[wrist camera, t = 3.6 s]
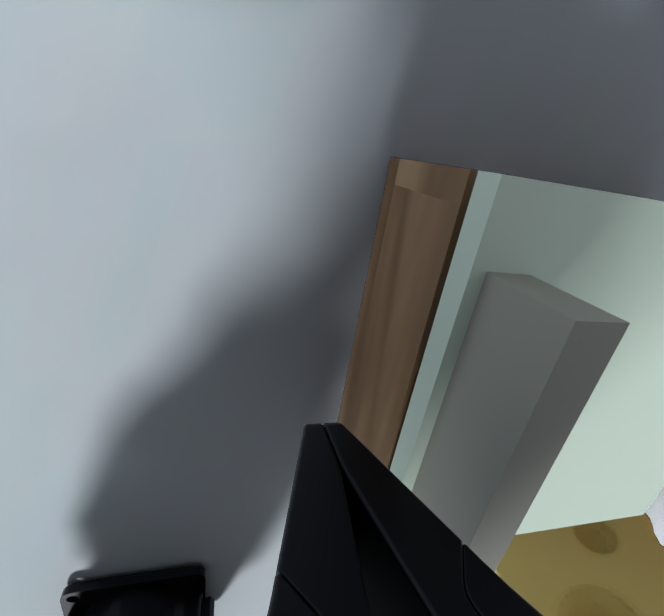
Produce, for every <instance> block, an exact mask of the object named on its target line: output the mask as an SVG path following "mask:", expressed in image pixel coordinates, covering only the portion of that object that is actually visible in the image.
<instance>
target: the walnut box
mask: <svg viewBox="0 0 664 616" xmlns="http://www.w3.org/2000/svg"><path fill="white" fill-rule="evenodd" d="M477 174H478V170H473V169H466V168H460V167H453V166H446V165H440V164H433V163H426V162H420V161H413V160H406V159H400V158H393V157H391V159H390V164H389V169H388V174H387V179H386V184H385V189H384V194H383V199H382V204H381V209H380V214H379V219H378V224H377V229H376V234H375V238H374V243H373V248H372V253H371V258H370V263H369V268H368V273H367V278H366V283H365V288H364V293H363V298H362V303H361V308H360V313H359V318H358V323H357V328H356V333H355V338H354V343H353V348H352V353H351V358H350V363H349V368H348V373H347V378H346V383H345V388H344V393H343V398H342V403H341V408H340V413H339V418H338V423H341V424H343V425H344V426H345V427H346V428H347V429H348V430H349V431H350V432H351V433H352V434H353V435H354V436H355V437H356V438H357V439H358V440H359V441H360V442H361V443H362V444H363V445H364V446H365V447H366V448H367V449H368V450H370V451H371V452H372V453H373V454H374V455H375V456H376V457H377V458H378V459H379V460H380V461H381V462H382V463H383V464H384V465H385V466H386V467H387V468H388V469H389V470H390V467H391V464H392V460H393V457H394V454H395V450H396V447H397V444H398V440H399V437H400V433H401V430H402V427H403V423H404V420H405V417H406V413H407V410H408V406H409V403H410V400H411V396H412V393H413V390H414V386H415V383H416V379H417V376H418V373H419V369H420V366H421V363H422V359H423V356H424V352H425V349H426V346H427V342H428V339H429V336H430V332H431V329H432V325H433V322H434V319H435V315H436V312H437V309H438V305H439V302H440V298H441V295H442V292H443V288H444V285H445V282H446V278H447V275H448V271H449V268H450V265H451V261H452V258H453V255H454V251H455V248H456V244H457V241H458V238H459V234H460V231H461V228H462V224H463V221H464V217H465V214H466V211H467V207H468V204H469V201H470V197H471V194H472V190H473V187H474V184H475V180H476V177H477Z"/></svg>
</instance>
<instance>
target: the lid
mask: <svg viewBox="0 0 664 616" xmlns="http://www.w3.org/2000/svg"><path fill="white" fill-rule="evenodd" d="M390 471H391V472H392V473H393V474H394V475H395V476H396V477H397V478H398V479H399V480H400V481H401V482H402V483H403V484H404V485H405V486H406V487H407V488H408V489H409V490H410V491H411V492H413V493H414V494H415V495H416V496H417V497H418V498H419V499H420V500H421V501H422V502H423V503H424V504H425V505H426V506H427V507H428V508H429V509H430V510H431V511H432V512H433V513H434V514H435V515H436V516H437V517H438V518H439V519H440V520H441V521H442V522H443V523H444V524H445V525H446V526H447V527H448V528H449V529H450V530H451V531H452V532H453V533H454V534H456V535H457V536H458V537H459V538H460V539H461V541H462V545H463V544H466V545H467V546H468V547H469V548H470V549H471V550H472V551H473V552H474V553H475V554H476V555H477V556H478V557H479V558H480V559H481V560H482V561H483V562H484V563H486V564H487V565H488V566H489V567H490V568H491V569H492V570H493V571H494V572H495V570H496V569H497V567H498V565H499V563H500V561H501V559H502V558H503V556H504V554H505V552H506V550H507V548H508V547H509V545H510V543H511V541H512V539H513V537H514V536H515V535H518V534H525V533H531V532H537V531H544V530H550V529H556V528H562V527H569V526H575V525H581V524H588V523H594V522H600V521H607V520H613V519H619V518H626V517H632V516H638V515H643V514H644V513H645V512H646V510H647V509H648V508H649V506H650V505H651V504H652V502H653V501H654V499H655V498H656V497H657V495H658V494H659V493H660V491H661V490H662V489H663V487H664V201H659V200H653V199H647V198H642V197H636V196H630V195H624V194H618V193H612V192H606V191H600V190H594V189H588V188H582V187H577V186H571V185H565V184H559V183H553V182H547V181H541V180H535V179H529V178H523V177H517V176H511V175H506V174H499V173H493V172H486V171H479V170H478V174H477V177H476V180H475V184H474V187H473V190H472V194H471V197H470V201H469V204H468V207H467V211H466V214H465V217H464V221H463V224H462V228H461V231H460V234H459V238H458V241H457V244H456V248H455V251H454V255H453V258H452V261H451V265H450V268H449V271H448V275H447V278H446V282H445V285H444V288H443V292H442V295H441V298H440V302H439V305H438V309H437V312H436V315H435V319H434V322H433V325H432V329H431V332H430V336H429V339H428V342H427V346H426V349H425V352H424V356H423V359H422V363H421V366H420V369H419V373H418V376H417V379H416V383H415V386H414V390H413V393H412V396H411V400H410V403H409V406H408V410H407V413H406V417H405V420H404V423H403V427H402V430H401V433H400V437H399V440H398V444H397V447H396V450H395V454H394V457H393V460H392V464H391V467H390Z"/></svg>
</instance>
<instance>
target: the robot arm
mask: <svg viewBox="0 0 664 616" xmlns="http://www.w3.org/2000/svg"><path fill="white" fill-rule="evenodd" d="M60 603H61V607H62V610H63V614H64V616H214V599H213V597H212V596H206V568H204V567H202V566H194V567H187V568H180V569H173V570H166V571H160V572H153V573H146V574H139V575H132V576H125V577H118V578H111V579H104V580H97V581H90V582H83V583H76V584H72V585H69V586H67V587H66V588H65V589H64V591H63V593H62V596H61V598H60ZM267 616H543V615H542V614H541V613H540V612H539V611H538V610H536V609H535V608H534V607H533V606H532V605H531V604H530V603H528V602H527V601H526V600H525V599H524V598H523V597H522V596H520V595H519V594H518V593H517V592H516V591H515V590H513V589H512V588H511V587H510V586H509V585H508V584H507V583H506V582H505V581H504V580H503V579H502V578H500V577H499V576H498V575H497V574H496V573H495V572H494V571H493V570H492V569H491V568H490V567H489V566H488V565H487V564H486V563H484V562H483V561H482V560H481V559H480V558H479V557H478V556H477V555H476V554H475V553H474V552H473V551H472V550H471V549H470V548H469V547H468V546H467V545H466V544H463V545H462V541H461V539H460V538H459V537H458V536H457V535H456V534H454V533H453V532H452V531H451V530H450V529H449V528H448V527H447V526H446V525H445V524H444V523H443V522H442V521H441V520H440V519H439V518H438V517H437V516H436V515H435V514H434V513H433V512H432V511H431V510H430V509H429V508H428V507H427V506H426V505H425V504H424V503H423V502H422V501H421V500H420V499H419V498H418V497H417V496H416V495H415V494H414V493H413V492H411V491H410V490H409V489H408V488H407V487H406V486H405V485H404V484H403V483H402V482H401V481H400V480H399V479H398V478H397V477H396V476H395V475H394V474H393V473H392V472H391V471H390V470H389V469H388V468H387V467H386V466H385V465H384V464H383V463H382V462H381V461H380V460H379V459H378V458H377V457H376V456H375V455H374V454H373V453H372V452H371V451H370V450H368V449H367V448H366V447H365V446H364V445H363V444H362V443H361V442H360V441H359V440H358V439H357V438H356V437H355V436H354V435H353V434H352V433H351V432H350V431H349V430H348V429H347V428H346V427H345V426H344V425H343V424H341V423H325V424H324V425H322V424H306V425H305V426H304V429H303V435H302V440H301V445H300V450H299V456H298V461H297V466H296V471H295V477H294V482H293V487H292V492H291V497H290V503H289V508H288V513H287V518H286V524H285V529H284V534H283V539H282V545H281V550H280V555H279V560H278V566H277V571H276V576H275V580H274V585H273V591H272V596H271V601H270V606H269V610H268V615H267Z"/></svg>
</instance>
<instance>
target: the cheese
mask: <svg viewBox="0 0 664 616" xmlns="http://www.w3.org/2000/svg"><path fill="white" fill-rule="evenodd" d="M495 573H496V574H497V575H498V576H499V577H500V578H502V579H503V580H504V581H505V582H506V583H507V584H508V585H509V586H510V587H511V588H512V589H513V590H515V591H516V592H517V593H518V594H519V595H520V596H522V597H523V598H524V599H525V600H526V601H527V602H528V603H530V604H531V605H532V606H533V607H534V608H535V609H536V610H538V611H539V612H540V613H541V614H542V615H543V616H664V546H662V545H661V544H660V543H659V541H658V539H657V537H656V535H655V534H654V530H653V525H652V523H651V520H650V518H649V517H648V515H647V514H646V513H644V514H643V515H638V516H632V517H626V518H619V519H613V520H607V521H600V522H594V523H588V524H581V525H575V526H569V527H562V528H556V529H550V530H544V531H537V532H531V533H525V534H518V535H515V536H514V537H513V539H512V541H511V543H510V545H509V547H508V548H507V550H506V552H505V554H504V556H503V558H502V559H501V561H500V563H499V565H498V567H497V569H496V570H495Z"/></svg>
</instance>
